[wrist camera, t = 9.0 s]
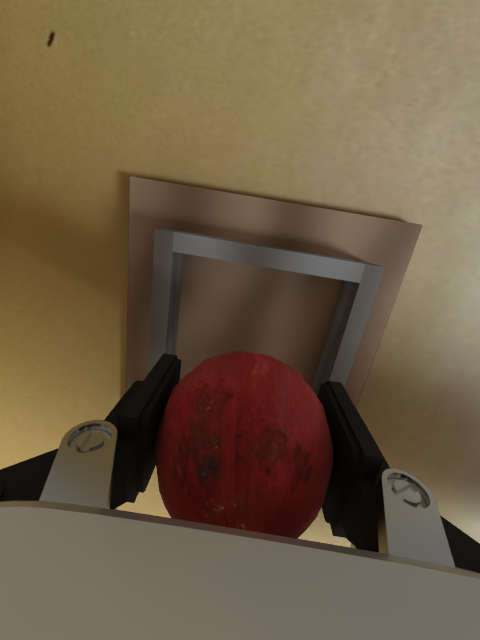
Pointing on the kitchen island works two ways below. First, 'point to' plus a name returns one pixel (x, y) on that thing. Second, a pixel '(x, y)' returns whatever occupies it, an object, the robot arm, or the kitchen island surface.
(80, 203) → the kitchen island surface
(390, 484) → the robot arm
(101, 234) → the kitchen island surface
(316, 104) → the kitchen island surface
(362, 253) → the dock
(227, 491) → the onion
